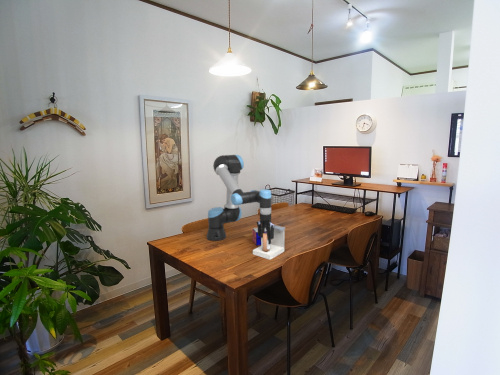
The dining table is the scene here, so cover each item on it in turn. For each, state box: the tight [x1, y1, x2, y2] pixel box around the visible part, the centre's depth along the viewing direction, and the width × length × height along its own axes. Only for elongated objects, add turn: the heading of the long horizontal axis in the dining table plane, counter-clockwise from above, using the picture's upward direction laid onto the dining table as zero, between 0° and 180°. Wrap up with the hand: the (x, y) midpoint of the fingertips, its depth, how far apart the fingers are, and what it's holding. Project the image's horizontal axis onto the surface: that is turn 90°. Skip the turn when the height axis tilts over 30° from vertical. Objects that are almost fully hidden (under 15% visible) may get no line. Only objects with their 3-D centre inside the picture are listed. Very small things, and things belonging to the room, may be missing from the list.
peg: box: [263, 233, 269, 252], centre depth 180 cm, size 4×4×13 cm
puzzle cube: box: [252, 227, 267, 246], centre depth 203 cm, size 10×10×10 cm
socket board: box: [252, 224, 286, 261], centre depth 183 cm, size 15×17×17 cm
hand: (265, 247), depth 181 cm, fingers closed on peg, 4 cm apart
